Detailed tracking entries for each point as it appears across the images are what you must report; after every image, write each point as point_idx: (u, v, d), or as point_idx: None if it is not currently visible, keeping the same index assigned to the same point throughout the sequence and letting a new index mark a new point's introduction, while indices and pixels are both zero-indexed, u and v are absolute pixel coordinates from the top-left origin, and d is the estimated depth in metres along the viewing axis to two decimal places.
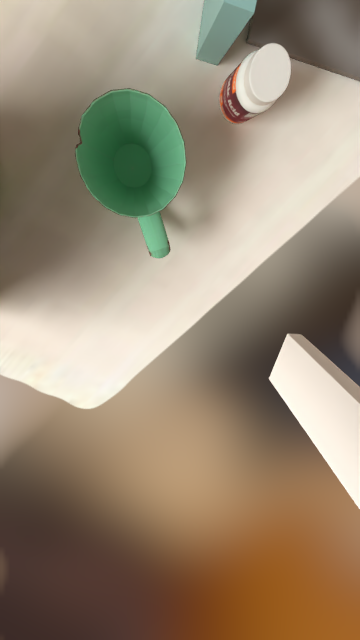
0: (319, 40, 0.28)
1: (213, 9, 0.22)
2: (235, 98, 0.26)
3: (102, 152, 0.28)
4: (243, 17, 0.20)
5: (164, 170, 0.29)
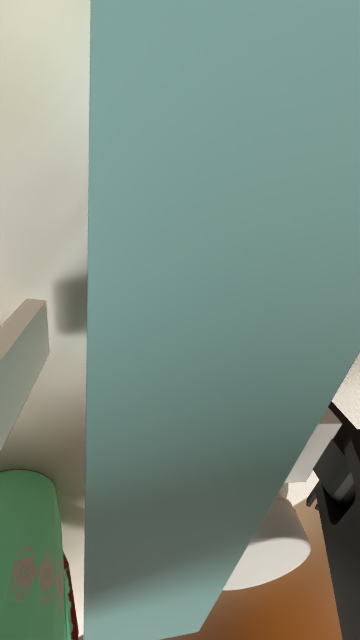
0: None
1: None
2: None
3: None
4: None
5: None
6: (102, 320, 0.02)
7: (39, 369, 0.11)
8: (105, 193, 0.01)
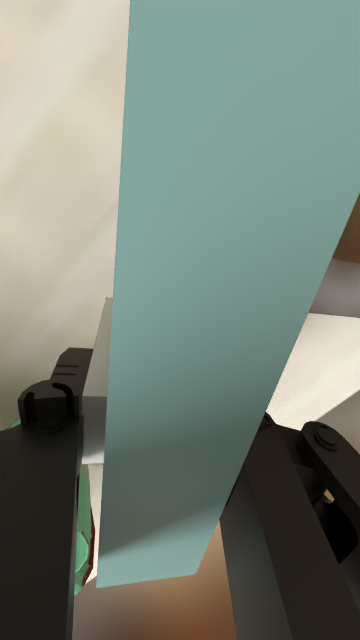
0: None
1: None
2: None
3: None
4: None
5: None
6: (124, 274, 0.03)
7: None
8: (130, 187, 0.02)
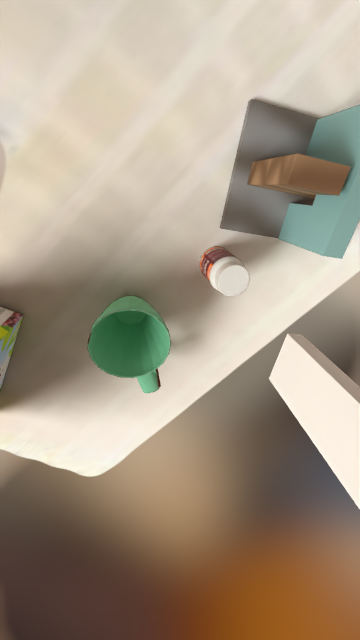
0: (277, 224, 0.36)
1: (306, 237, 0.31)
2: (209, 282, 0.33)
3: None
4: None
5: (155, 323, 0.37)
6: (357, 174, 0.25)
7: None
8: None
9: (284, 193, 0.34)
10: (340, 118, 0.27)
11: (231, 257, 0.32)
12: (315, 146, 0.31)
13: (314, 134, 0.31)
